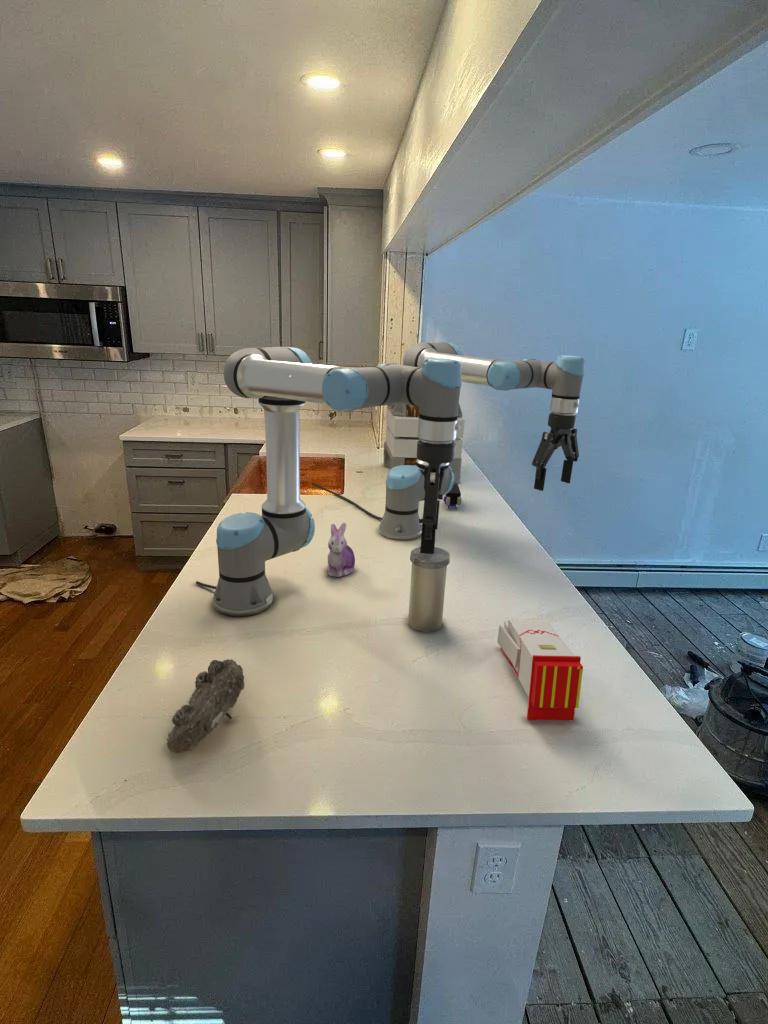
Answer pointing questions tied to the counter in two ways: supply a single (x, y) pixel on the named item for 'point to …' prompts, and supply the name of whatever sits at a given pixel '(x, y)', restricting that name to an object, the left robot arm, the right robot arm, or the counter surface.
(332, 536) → the figurine
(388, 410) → the white wooden box
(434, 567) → the lid
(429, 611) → the jar
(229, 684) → the fossil
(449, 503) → the figurine character
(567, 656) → the toy
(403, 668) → the counter surface
